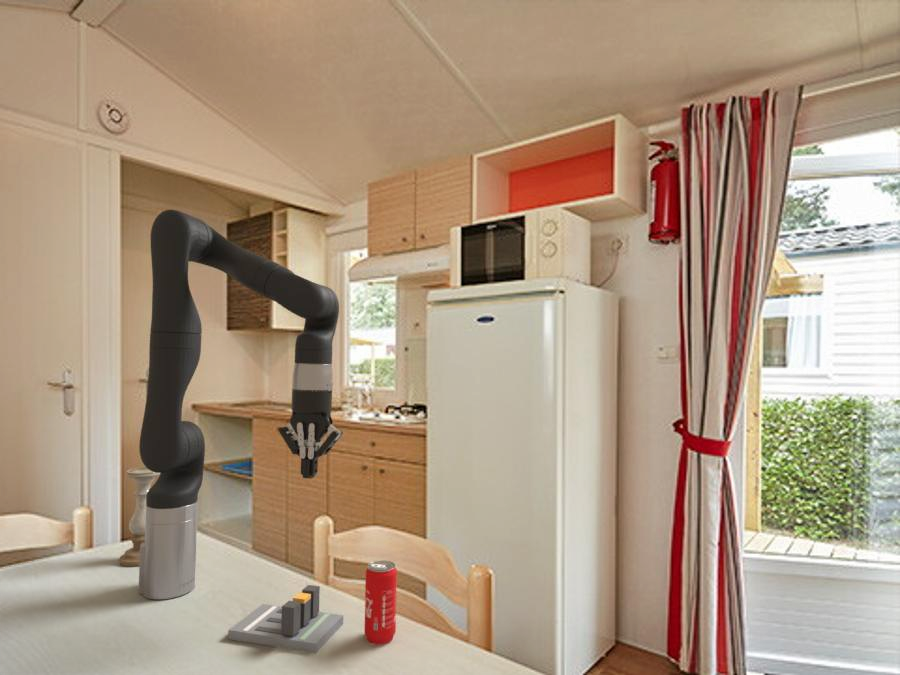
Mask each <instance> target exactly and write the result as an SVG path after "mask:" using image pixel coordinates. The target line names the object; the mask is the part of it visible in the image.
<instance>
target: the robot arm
mask: <svg viewBox="0 0 900 675" xmlns="http://www.w3.org/2000/svg"><path fill="white" fill-rule="evenodd" d="M150 256H151V270H152V271H151V272H152V273H151V274H152V275H151V276H152V296H151V297H152V299H151V322H150V329H149V331H150V332H149V352H148V353H149V354H148V355H149V360H148V373H147V374H148V375H147V389H146V399H145V407H144V412H143V418H142V424H141V429H140V437H139V447H138V448H139V449H138V450H139V456H140V460H141V462H142V464H143V465H144V467H147V468H148V469H149V470H151V471H152V472H156V473H160V475H158V477H157V480H156V481H155V483H154V484H152V485H151V488H150V489H149V490H148V492H147V496H146V524H145V542H144V543H142V544H141V545H140V566H138V567H139V570H138V571H139V572H138V573H139V575H138V594H141V595H143V597H145V598H146V599H148V600H149V599H150V600H167V599H174V598H177V597H181V596H184V595H186V594H189V593H190V592H191V591H192V590H194V588H195V586H196V567H197V566H196V562H197V533H198V532H197V530H198V529H197V528H198V526H197V525H198V498H199V497H198V496H199V492H200V489H201V487H202V484H203V479H204V468H205V455H206V444H205V441H206V440H205V437H204V434H203V432H202V429H201V428H200V427H199V426H198V425H197V424H196V423H195V422H192V421H189V420H182V417H183V416H182V414H183V413H182V410H183V403H184V398H185V395H186V392H187V389H188V387H189V385H190V383H191V381H192V378H193V377H194V375H195V373H196V370H197V367H198V365H199V362H200V358H201V352H202V331H203V329H202V320H201V317H200V314H199V311H198V309H197V306H196V303H195V301H194V297H193V295H192V293H191V289H190V285H189V262H192V263H193V262H194V263H197V264H201V265H204V266H208V267H210V268H214V269H217V270H219V271H221V272H222V273H225V274H227V275H228V276H230V277H231V278H232V279H234V280H235V281H236V282H238V283H239V284H240V285H242V286H244V287H245V288H247V289H248V290H251V291H252V292H254V293H256V294H258V295H260V296H262V297H264V298H266V299H268V300H270V301H274V302H275V303H277V304H278V305H280V307H282V308H284V309H286V310H287V311H289V312H290V313H292V314H294V315H296V316H298V317H300V318H301V319H305V321H304V325H303V326H304V327H303V332H301V333H300V334H298V335H297V337H296V339H295V344H294V345H295V347H294V366H293V371H292V382H291V383H292V385H291V386H292V387H291V407H290V408H291V409H290V410H291V416H290V418H289V422H288V423H287V424H286V425H285V426H282V427H279V428H278V432H279V434H280V435H281V437H282V439H283V441H284V442H285V444H286V445H287V447H288V448H289V450H290V452H291V454H293V455H296V456H299V458H300V474H301V476H302V479H309V480H311V479H313V478H315V477H316V475H317V474H318V471H319V470H318V469H319V468H318V466H319V458H321V457H322V456H326V455H328V453H330V451H331V450H332V448H333V447H334V446H335V444H336V443H337V442H338V441H339V439H340V438H341V437H342V435H343V430H341V429H338V428H336V427H335V425H334V424H333V418H332V415H331V413H332V407H333V406H332V404H333V402H332V401H333V386H334V382H333V376H334V375H333V367H332V366H333V340H334V336H335V333H336V329H337V325H338V321H339V315H340V314H339V313H340V304H339V299H338V295H337V294H336V292H335V291H334V290H333V289H332V288H330V287H328V286H325V285H322V284H319V283H316V282H313V281H312V280H308V279H307V278H304V277H302V276H300V275H298V274H296V273H295V272H294V271H292V270H290V268H288V267H285V266H284V265H281V264H279V263H277V262H275V261H273V260H271V259H269V258H267V257H264V256H263V255H260V254H258V253H255V252H253V251H250V250H248V249H245V248H243V247H241V246H239V245H238V244H236V243H234V242H233V241H230V240H229V239H227V238H226V237H225V236H223V235H222V234H220V233H219V231H216V230H215V229H214V228H213V227H212V226H210V225H209V224H207V223H206V222H205V221H203V220H202V219H200V218H198V217H196V216H192V215H191V214H188V213H185V212H183V211H180V210H176V209H166V210H162V212H160V213H159V214H158V215H157V216H156V217H155V219H154V221H153V222H152V225H151V228H150ZM325 436H326V437H327V438H326V439H325V441H323V438H325Z"/></svg>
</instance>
